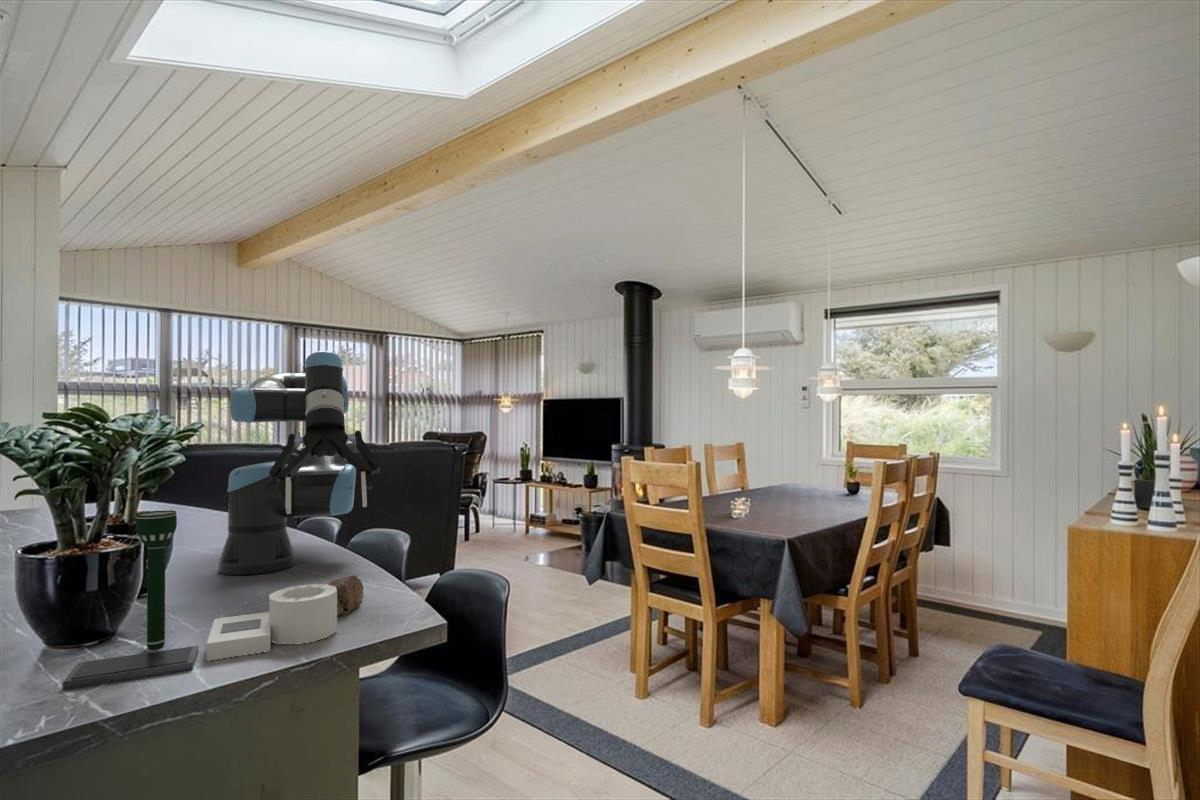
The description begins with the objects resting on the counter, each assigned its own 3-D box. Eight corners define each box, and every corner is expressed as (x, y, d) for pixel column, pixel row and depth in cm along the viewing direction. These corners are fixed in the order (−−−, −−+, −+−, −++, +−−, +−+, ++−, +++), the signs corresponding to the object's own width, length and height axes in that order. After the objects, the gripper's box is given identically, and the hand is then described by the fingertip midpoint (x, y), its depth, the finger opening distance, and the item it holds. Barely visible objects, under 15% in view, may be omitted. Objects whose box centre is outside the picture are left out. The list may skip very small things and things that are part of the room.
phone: (78, 669, 88) (78, 661, 88) (198, 652, 94) (198, 644, 94) (62, 689, 82) (62, 681, 82) (192, 669, 88) (192, 661, 88)
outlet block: (214, 634, 102) (214, 593, 102) (333, 618, 109) (333, 579, 109) (206, 661, 91) (206, 615, 91) (339, 641, 98) (339, 598, 99)
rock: (355, 618, 110) (356, 584, 110) (290, 623, 107) (290, 589, 107) (364, 593, 125) (364, 563, 125) (307, 597, 122) (307, 566, 122)
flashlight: (132, 646, 96) (132, 513, 97) (172, 638, 100) (172, 509, 100) (138, 656, 93) (139, 517, 93) (179, 646, 96) (180, 512, 97)
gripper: (256, 408, 128) (251, 504, 117) (388, 403, 137) (395, 492, 126) (260, 428, 133) (256, 522, 122) (386, 422, 143) (394, 509, 132)
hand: (327, 507), depth 124 cm, fingers open, 13 cm apart
